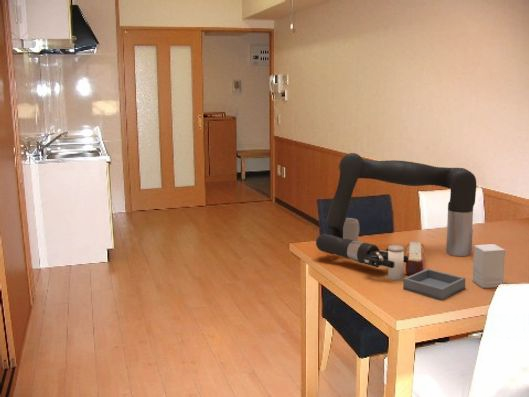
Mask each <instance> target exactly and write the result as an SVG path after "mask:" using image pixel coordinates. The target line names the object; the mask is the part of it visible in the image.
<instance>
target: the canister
mask: <svg viewBox="0 0 529 397" xmlns="http://www.w3.org/2000/svg"><path fill="white" fill-rule="evenodd" d="M387 249H388V260H389V261H393V262H394V268H389V267H387V278H388V279H389V280H391V281H403V279H404V263H405V262H404V256H405V247H404V246H403V245H399V244H391V245H388V247H387Z"/></svg>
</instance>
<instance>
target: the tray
mask: <svg viewBox="0 0 529 397" xmlns="http://www.w3.org/2000/svg"><path fill="white" fill-rule="evenodd" d="M402 281H403V285H402V288H403V290H405V291H410V292H411V293H417V294H420V295H423V296H427V297H429V298H432V299H436V300H438V301H439V300H440V301H443V300H445V299H447V298H449V297H451V296H453V295H455V294H457V293H459V292H462V291H463V290H465V289H466V277H462V276H458V275H454V274H450V273H446V272H443V271H438V270H435V269H431V268H424V270H423V271H420V272H418V273H416V274H413V275H408V276H407V277H403V279H402Z"/></svg>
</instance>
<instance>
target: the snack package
mask: <svg viewBox="0 0 529 397" xmlns="http://www.w3.org/2000/svg"><path fill="white" fill-rule="evenodd" d="M405 256H408V262H407V263H405V273H406V275H408V276H411V275H413V274H416V273H418V272H420V271H423V270H425V245H424V244H423V243H422V242H418V241H411V242H409V243H407V245H406V250H405Z"/></svg>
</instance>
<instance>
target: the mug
mask: <svg viewBox="0 0 529 397" xmlns="http://www.w3.org/2000/svg"><path fill="white" fill-rule="evenodd" d="M359 234H360V222H359V220H358V219H356V218H353V217H346V220H345V223H344V227H343V239H350V240H354V241H359Z"/></svg>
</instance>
